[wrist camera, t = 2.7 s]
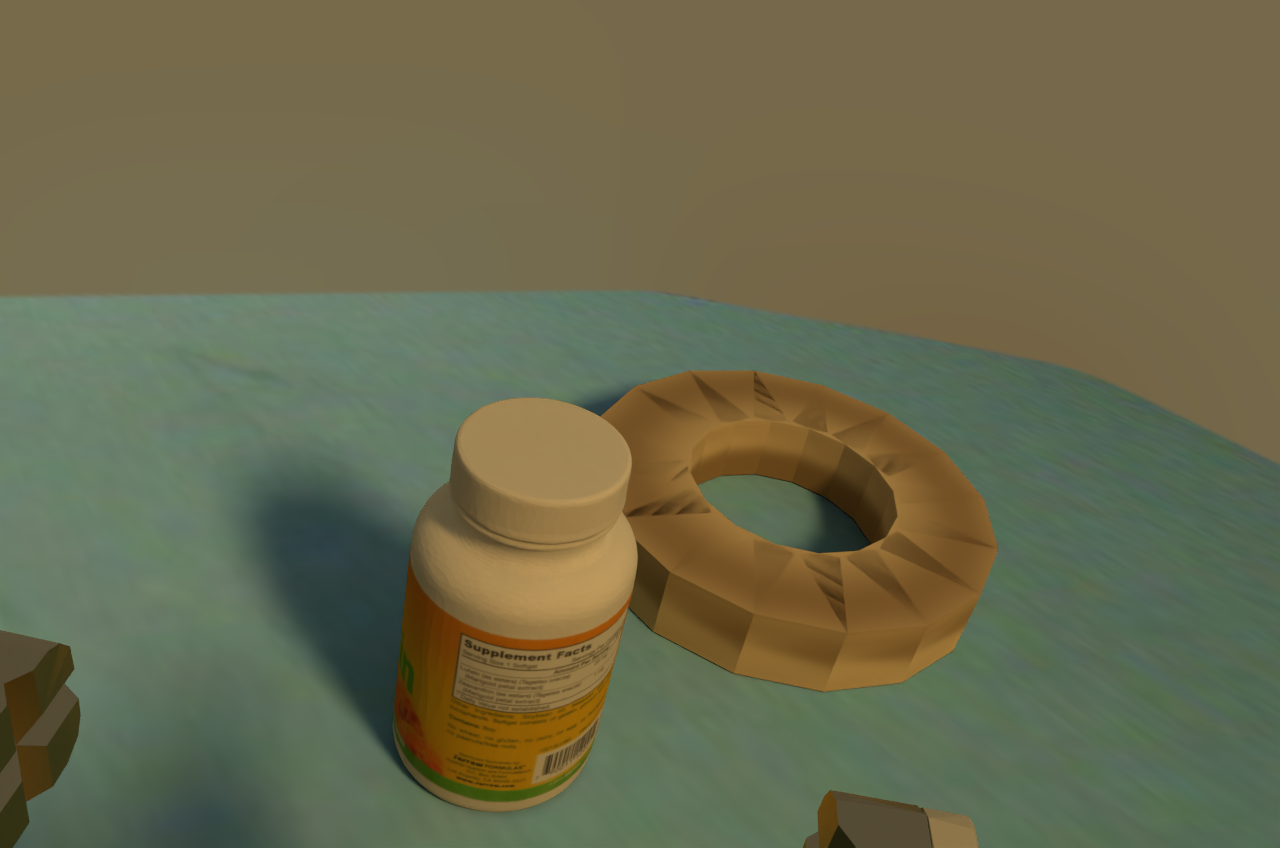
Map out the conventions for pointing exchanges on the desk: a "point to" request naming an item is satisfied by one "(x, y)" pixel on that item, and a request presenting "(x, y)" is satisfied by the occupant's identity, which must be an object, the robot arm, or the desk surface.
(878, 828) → the robot arm
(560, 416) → the supplement bottle
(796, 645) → the plain brown donut
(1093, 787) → the desk surface
